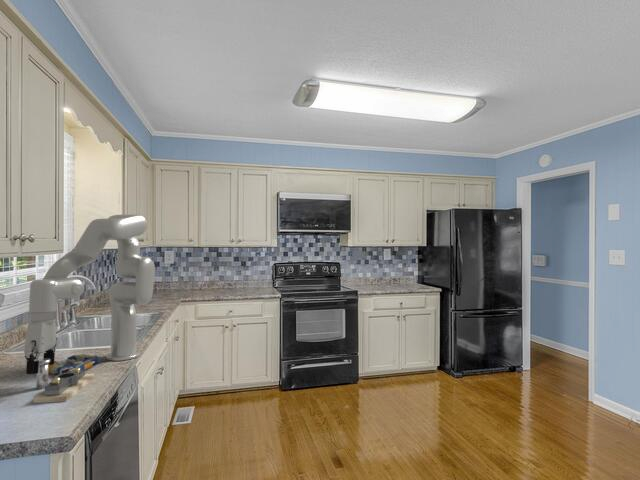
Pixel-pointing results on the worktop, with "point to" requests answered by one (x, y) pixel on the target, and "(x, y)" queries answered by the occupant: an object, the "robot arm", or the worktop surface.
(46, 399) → the ring socket base plate
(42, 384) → the light bulb
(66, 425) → the worktop surface
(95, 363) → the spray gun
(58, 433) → the worktop surface
